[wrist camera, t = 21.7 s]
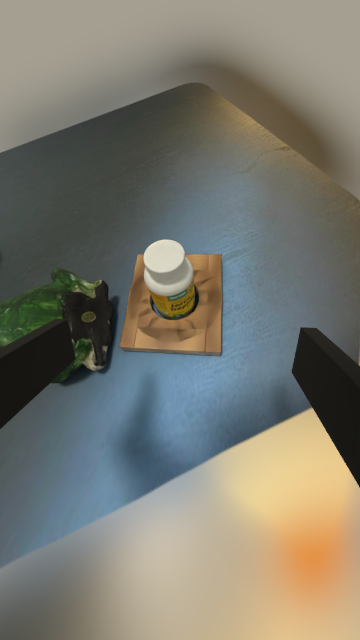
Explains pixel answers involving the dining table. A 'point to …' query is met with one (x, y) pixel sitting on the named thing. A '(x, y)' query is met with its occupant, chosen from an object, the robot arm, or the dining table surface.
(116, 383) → the dining table surface
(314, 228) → the dining table surface
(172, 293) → the supplement bottle
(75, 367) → the figurine
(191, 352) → the socket pad
